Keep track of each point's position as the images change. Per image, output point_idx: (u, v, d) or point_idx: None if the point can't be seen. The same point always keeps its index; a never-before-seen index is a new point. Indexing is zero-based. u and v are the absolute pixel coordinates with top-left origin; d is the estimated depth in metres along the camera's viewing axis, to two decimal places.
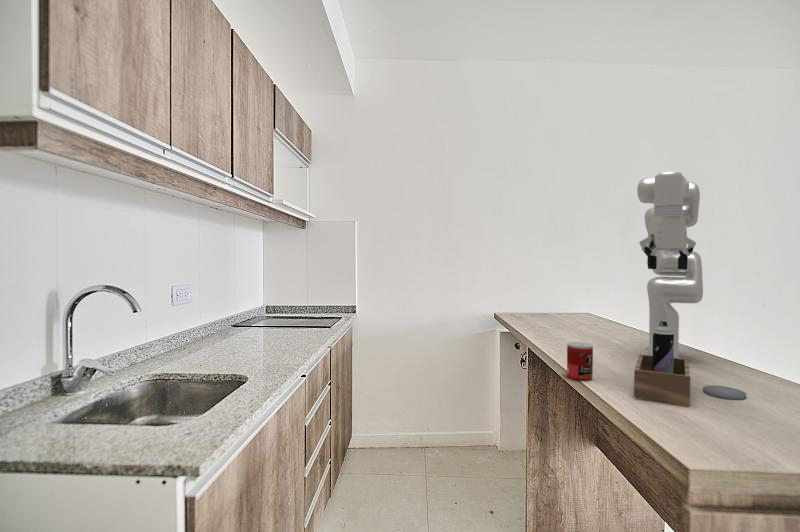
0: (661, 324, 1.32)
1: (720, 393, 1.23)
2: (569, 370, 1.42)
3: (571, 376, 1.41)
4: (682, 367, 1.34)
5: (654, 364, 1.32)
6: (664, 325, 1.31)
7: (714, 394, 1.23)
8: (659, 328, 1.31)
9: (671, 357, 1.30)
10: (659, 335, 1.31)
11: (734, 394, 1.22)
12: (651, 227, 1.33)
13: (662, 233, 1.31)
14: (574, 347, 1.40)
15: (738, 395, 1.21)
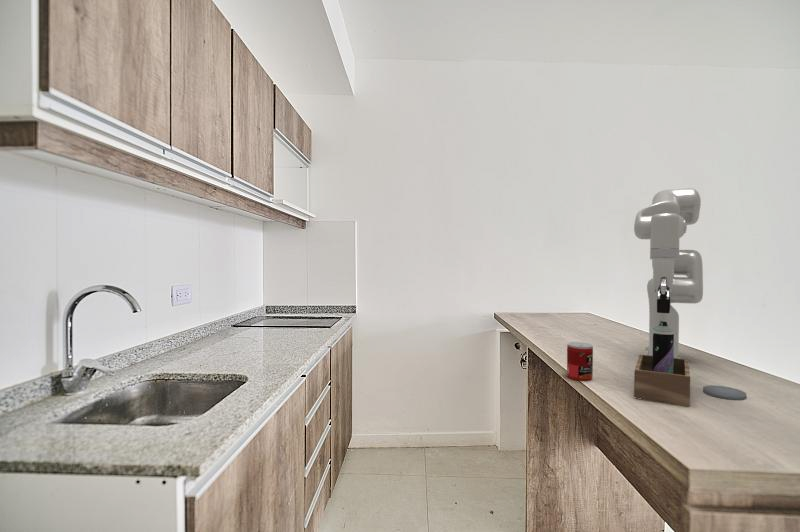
0: (661, 324, 1.32)
1: (720, 393, 1.23)
2: (569, 370, 1.42)
3: (571, 376, 1.41)
4: (682, 367, 1.34)
5: (654, 364, 1.32)
6: (664, 325, 1.31)
7: (714, 394, 1.23)
8: (659, 328, 1.31)
9: (671, 357, 1.30)
10: (659, 335, 1.31)
11: (734, 394, 1.22)
12: (661, 269, 1.28)
13: (672, 276, 1.27)
14: (574, 347, 1.40)
15: (738, 395, 1.21)
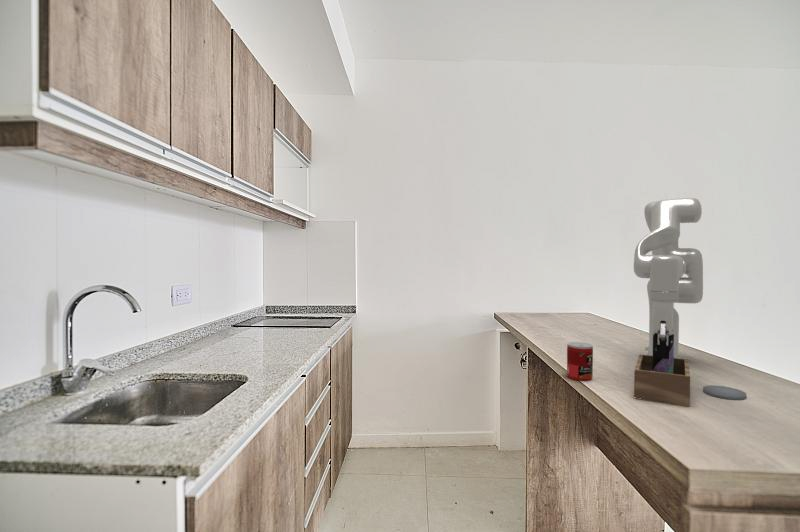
0: None
1: (720, 393, 1.23)
2: (569, 370, 1.42)
3: (571, 376, 1.41)
4: (682, 367, 1.34)
5: (654, 364, 1.32)
6: None
7: (714, 394, 1.23)
8: None
9: (671, 357, 1.30)
10: None
11: (734, 394, 1.22)
12: (661, 313, 1.28)
13: (672, 319, 1.28)
14: (574, 347, 1.40)
15: (738, 395, 1.21)
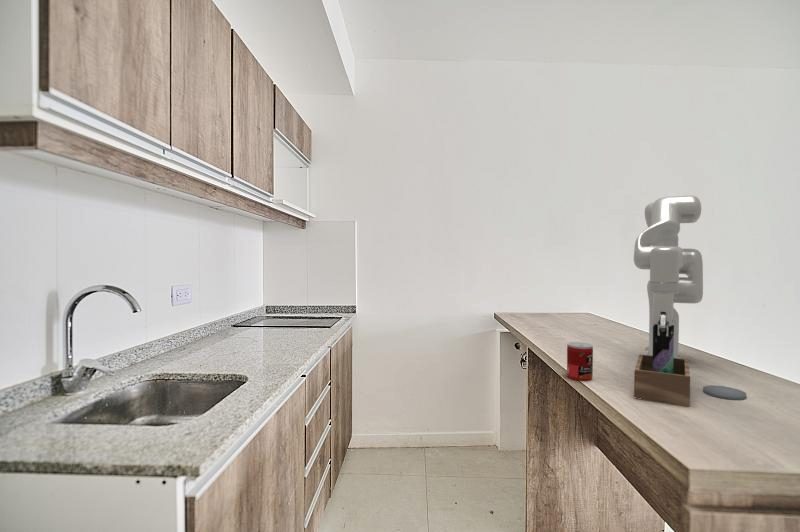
0: None
1: (720, 393, 1.23)
2: (569, 370, 1.42)
3: (571, 376, 1.41)
4: (682, 367, 1.34)
5: (654, 355, 1.33)
6: None
7: (714, 394, 1.23)
8: None
9: (671, 348, 1.30)
10: None
11: (734, 394, 1.22)
12: (661, 304, 1.28)
13: (672, 310, 1.28)
14: (574, 347, 1.40)
15: (738, 395, 1.21)
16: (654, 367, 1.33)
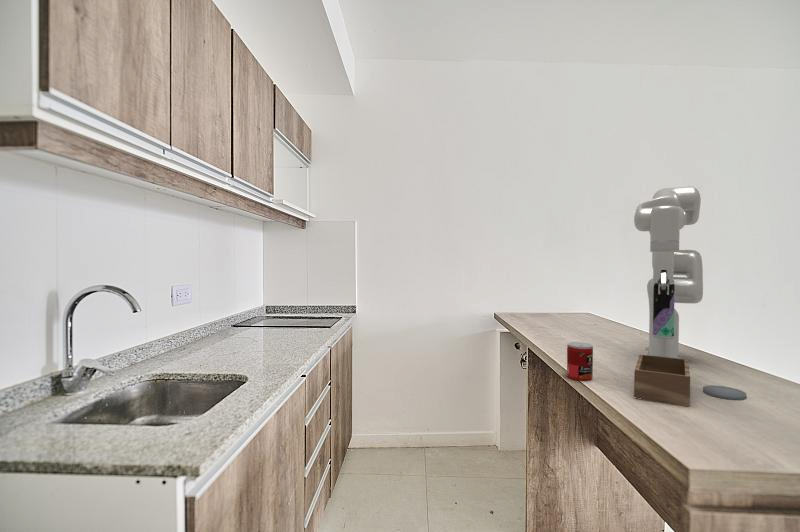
0: None
1: (720, 393, 1.23)
2: (569, 370, 1.42)
3: (571, 376, 1.41)
4: (682, 367, 1.34)
5: (655, 315, 1.32)
6: None
7: (714, 394, 1.23)
8: None
9: (672, 307, 1.30)
10: None
11: (734, 394, 1.22)
12: (661, 262, 1.28)
13: (673, 269, 1.28)
14: (574, 347, 1.40)
15: (738, 395, 1.21)
16: (655, 327, 1.32)
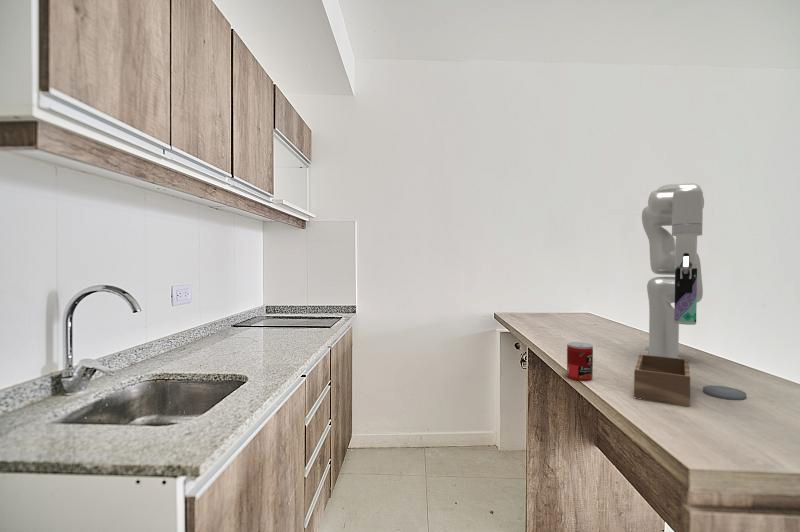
0: None
1: (720, 393, 1.23)
2: (569, 370, 1.42)
3: (571, 376, 1.41)
4: (682, 367, 1.34)
5: (676, 300, 1.29)
6: None
7: (714, 394, 1.23)
8: None
9: (694, 292, 1.27)
10: None
11: (734, 394, 1.22)
12: (684, 245, 1.25)
13: (695, 252, 1.25)
14: (574, 347, 1.40)
15: (738, 395, 1.21)
16: (676, 312, 1.29)
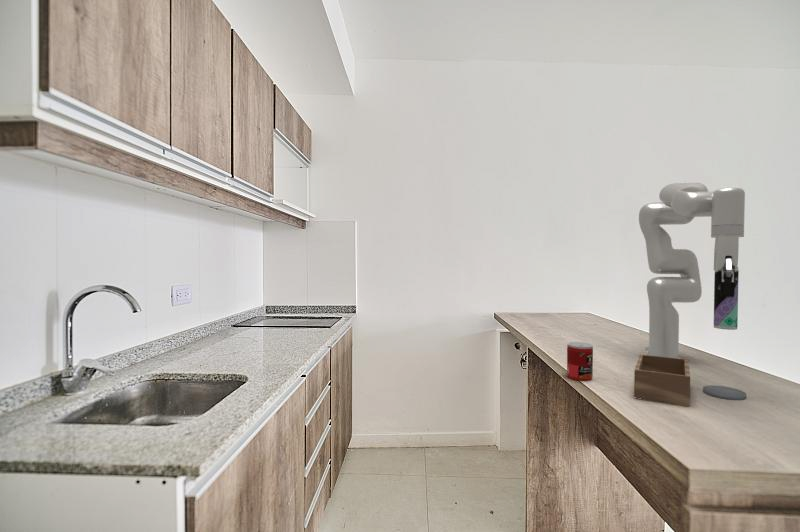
0: None
1: (720, 393, 1.23)
2: (569, 370, 1.42)
3: (571, 376, 1.41)
4: (682, 367, 1.34)
5: (717, 304, 1.24)
6: None
7: (714, 394, 1.23)
8: None
9: (736, 295, 1.22)
10: None
11: (734, 394, 1.22)
12: (726, 247, 1.20)
13: None
14: (574, 347, 1.40)
15: (738, 395, 1.21)
16: (716, 317, 1.24)
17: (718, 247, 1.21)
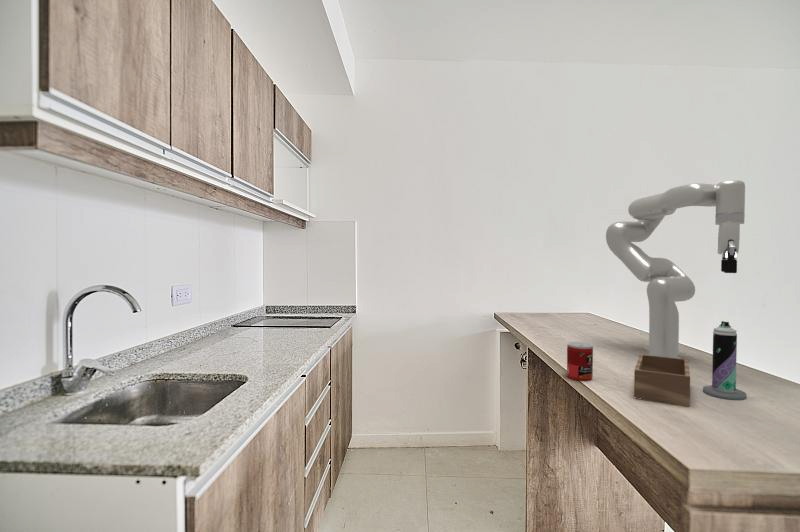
0: (723, 324, 1.25)
1: (720, 393, 1.23)
2: (569, 370, 1.42)
3: (571, 376, 1.41)
4: (682, 367, 1.34)
5: (715, 367, 1.25)
6: (726, 325, 1.24)
7: (714, 394, 1.23)
8: (721, 329, 1.24)
9: (734, 359, 1.23)
10: (721, 336, 1.24)
11: (734, 394, 1.22)
12: (729, 232, 1.37)
13: None
14: (574, 347, 1.40)
15: (738, 395, 1.21)
16: (715, 379, 1.25)
17: (722, 232, 1.39)
